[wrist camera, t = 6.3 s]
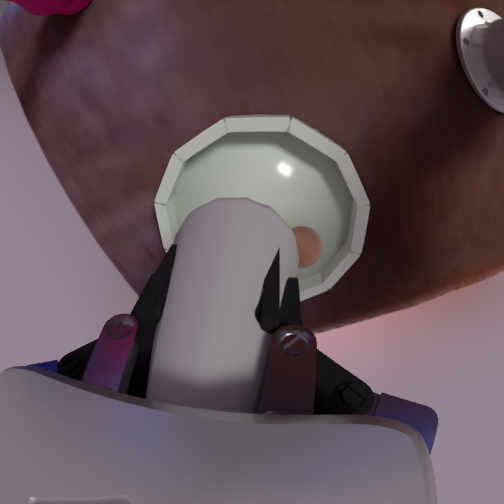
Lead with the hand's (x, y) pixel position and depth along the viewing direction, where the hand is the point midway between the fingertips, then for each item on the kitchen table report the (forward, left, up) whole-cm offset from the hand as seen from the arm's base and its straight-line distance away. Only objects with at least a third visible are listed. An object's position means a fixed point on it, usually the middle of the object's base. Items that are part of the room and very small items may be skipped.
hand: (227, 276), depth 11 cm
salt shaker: (0, 0, -4) cm, 4 cm away
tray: (0, +5, -16) cm, 17 cm away
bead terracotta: (-4, +8, -15) cm, 17 cm away
